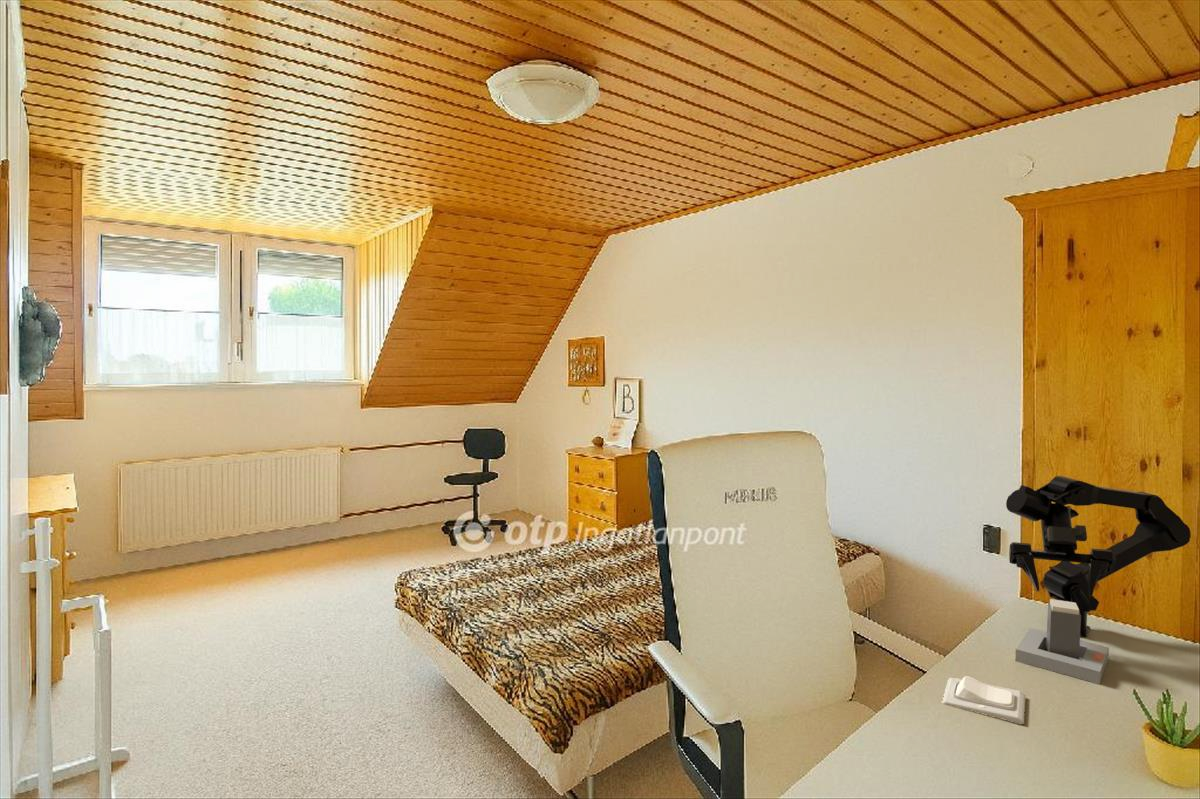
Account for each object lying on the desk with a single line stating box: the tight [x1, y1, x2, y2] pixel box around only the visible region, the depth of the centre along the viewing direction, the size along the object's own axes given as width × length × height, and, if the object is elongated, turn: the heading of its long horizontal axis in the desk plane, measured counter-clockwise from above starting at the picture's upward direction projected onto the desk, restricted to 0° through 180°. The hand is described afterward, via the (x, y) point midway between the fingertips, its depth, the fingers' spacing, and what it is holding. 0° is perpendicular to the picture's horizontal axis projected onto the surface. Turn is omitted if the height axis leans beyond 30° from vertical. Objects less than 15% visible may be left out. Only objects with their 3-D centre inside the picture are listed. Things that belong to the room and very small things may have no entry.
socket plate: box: [1014, 627, 1110, 685], centre depth 133 cm, size 14×14×3 cm
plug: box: [1045, 598, 1081, 660], centre depth 133 cm, size 5×5×12 cm
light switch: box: [941, 675, 1026, 725], centre depth 118 cm, size 11×4×13 cm
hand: (1064, 593), depth 135 cm, fingers open, 9 cm apart
